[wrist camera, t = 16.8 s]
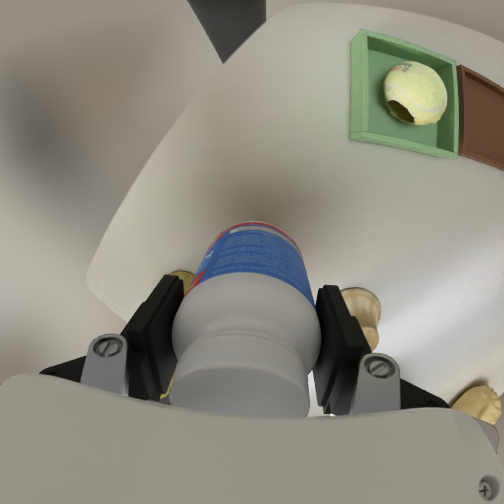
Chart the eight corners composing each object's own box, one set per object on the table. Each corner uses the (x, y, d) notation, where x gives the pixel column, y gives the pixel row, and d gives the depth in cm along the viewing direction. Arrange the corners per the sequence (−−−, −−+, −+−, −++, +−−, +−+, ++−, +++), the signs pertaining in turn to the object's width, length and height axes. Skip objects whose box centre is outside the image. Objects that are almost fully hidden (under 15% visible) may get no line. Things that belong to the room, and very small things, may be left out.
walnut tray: (452, 67, 21) (460, 64, 19) (512, 100, 20) (521, 99, 18) (453, 153, 24) (463, 154, 23) (512, 174, 24) (521, 176, 22)
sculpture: (492, 384, 38) (512, 415, 27) (453, 419, 41) (469, 452, 31) (479, 370, 36) (504, 406, 26) (435, 411, 39) (453, 449, 29)
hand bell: (364, 347, 34) (400, 443, 19) (307, 338, 33) (324, 446, 18) (390, 294, 31) (452, 385, 16) (330, 280, 31) (372, 384, 16)
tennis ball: (401, 61, 21) (431, 43, 15) (436, 110, 23) (471, 105, 16) (362, 87, 23) (388, 71, 16) (401, 139, 24) (434, 138, 18)
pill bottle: (206, 216, 15) (124, 322, 6) (306, 221, 15) (362, 339, 6) (208, 303, 17) (162, 441, 8) (295, 309, 17) (314, 453, 8)
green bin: (349, 42, 21) (360, 28, 18) (437, 68, 21) (455, 61, 17) (349, 139, 25) (361, 137, 21) (437, 157, 25) (457, 159, 21)
